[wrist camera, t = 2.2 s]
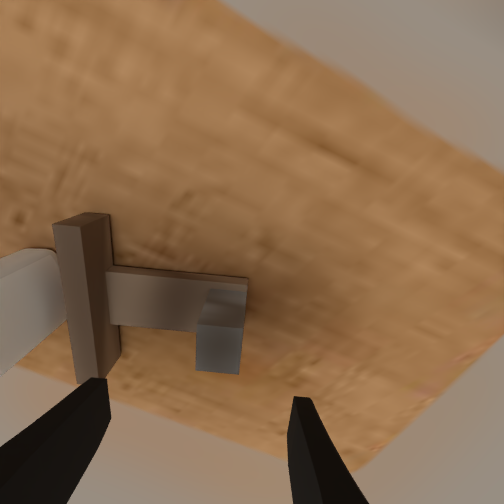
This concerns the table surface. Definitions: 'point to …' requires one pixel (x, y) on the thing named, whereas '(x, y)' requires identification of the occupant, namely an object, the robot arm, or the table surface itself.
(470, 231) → the table surface
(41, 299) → the eye dropper bottle
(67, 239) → the grey hook bracket
